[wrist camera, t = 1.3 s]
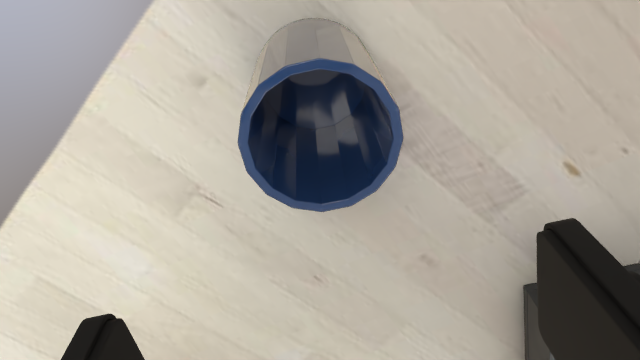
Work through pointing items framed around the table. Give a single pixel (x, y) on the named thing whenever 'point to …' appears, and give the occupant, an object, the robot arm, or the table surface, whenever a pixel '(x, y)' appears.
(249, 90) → the cup
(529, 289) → the holder
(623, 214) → the table surface
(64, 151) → the table surface
